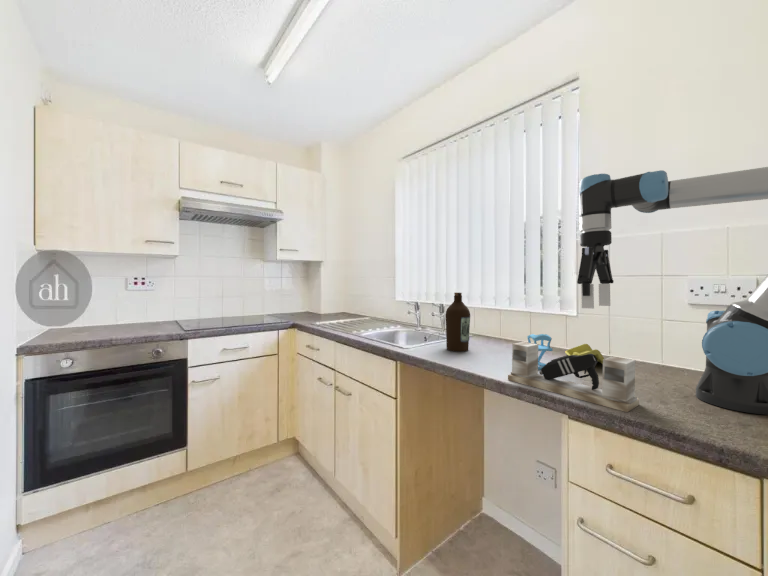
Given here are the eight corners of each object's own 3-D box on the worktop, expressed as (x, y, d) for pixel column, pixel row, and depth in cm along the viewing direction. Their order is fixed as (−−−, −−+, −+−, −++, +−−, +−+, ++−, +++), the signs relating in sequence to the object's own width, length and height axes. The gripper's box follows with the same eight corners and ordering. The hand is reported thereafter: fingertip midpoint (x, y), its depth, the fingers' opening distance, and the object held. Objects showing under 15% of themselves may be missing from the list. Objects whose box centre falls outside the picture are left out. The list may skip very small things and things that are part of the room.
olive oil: (440, 349, 146) (440, 292, 146) (453, 346, 154) (454, 291, 153) (461, 353, 139) (462, 293, 138) (474, 349, 147) (475, 292, 146)
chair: (543, 363, 123) (543, 331, 122) (555, 369, 114) (556, 334, 114) (522, 363, 123) (523, 331, 122) (533, 369, 114) (533, 334, 114)
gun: (554, 397, 97) (539, 363, 100) (611, 384, 85) (592, 347, 89) (549, 399, 95) (534, 365, 99) (606, 387, 84) (587, 348, 87)
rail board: (639, 404, 83) (640, 360, 82) (627, 412, 78) (628, 365, 78) (522, 375, 107) (522, 341, 107) (507, 379, 103) (508, 343, 102)
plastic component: (564, 351, 134) (590, 341, 131) (573, 368, 133) (599, 359, 130) (571, 357, 116) (601, 347, 113) (581, 378, 114) (612, 368, 111)
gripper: (595, 237, 105) (596, 304, 105) (562, 229, 89) (564, 308, 89) (624, 233, 99) (625, 305, 99) (594, 224, 83) (596, 310, 83)
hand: (596, 307), depth 94 cm, fingers open, 13 cm apart
